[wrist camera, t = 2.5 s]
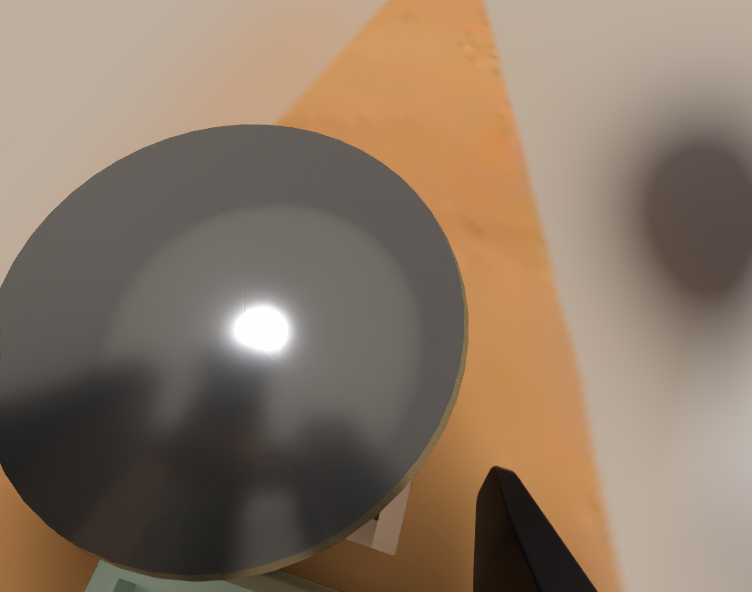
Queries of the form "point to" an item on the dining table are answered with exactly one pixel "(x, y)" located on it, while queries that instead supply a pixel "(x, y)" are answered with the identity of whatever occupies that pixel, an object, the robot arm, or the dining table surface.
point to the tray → (197, 583)
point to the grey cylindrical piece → (228, 352)
